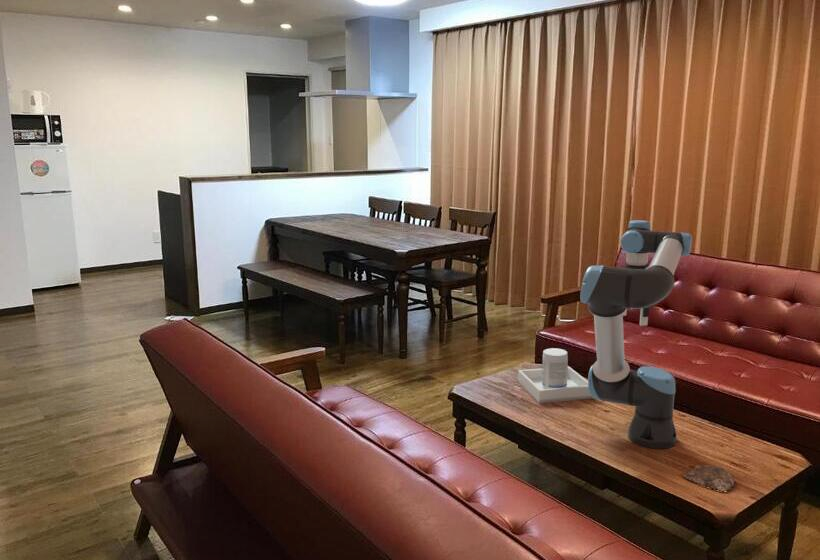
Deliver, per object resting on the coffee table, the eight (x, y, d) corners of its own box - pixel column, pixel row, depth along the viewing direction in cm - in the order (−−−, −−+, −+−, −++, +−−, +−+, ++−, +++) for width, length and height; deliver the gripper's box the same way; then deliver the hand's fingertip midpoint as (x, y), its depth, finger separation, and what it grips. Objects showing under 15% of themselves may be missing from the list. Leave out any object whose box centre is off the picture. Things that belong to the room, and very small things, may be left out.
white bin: (593, 398, 249) (594, 385, 248) (539, 403, 245) (539, 390, 244) (568, 377, 270) (568, 366, 269) (517, 381, 266) (518, 370, 265)
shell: (698, 466, 199) (699, 455, 198) (741, 482, 190) (742, 470, 189) (680, 479, 192) (681, 468, 191) (724, 496, 182) (726, 484, 182)
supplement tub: (571, 387, 257) (573, 351, 254) (557, 394, 251) (559, 357, 248) (550, 380, 264) (552, 346, 261) (536, 387, 258) (538, 351, 254)
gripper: (667, 269, 225) (662, 328, 229) (627, 256, 249) (623, 310, 253) (647, 270, 223) (643, 330, 228) (609, 257, 247) (605, 312, 251)
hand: (632, 320), depth 240 cm, fingers open, 13 cm apart
